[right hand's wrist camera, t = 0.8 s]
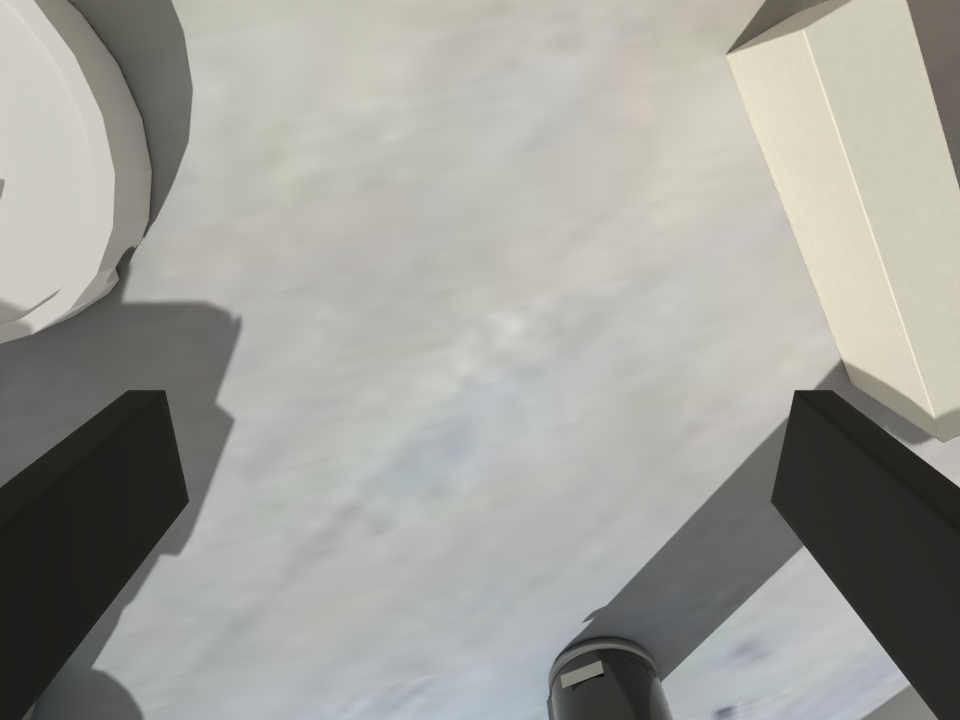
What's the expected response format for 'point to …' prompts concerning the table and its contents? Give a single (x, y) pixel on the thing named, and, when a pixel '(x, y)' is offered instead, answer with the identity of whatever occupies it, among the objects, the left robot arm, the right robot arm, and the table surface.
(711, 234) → the table surface
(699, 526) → the table surface
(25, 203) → the ashtray
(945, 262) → the bar
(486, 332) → the table surface
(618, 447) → the table surface
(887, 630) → the right robot arm
